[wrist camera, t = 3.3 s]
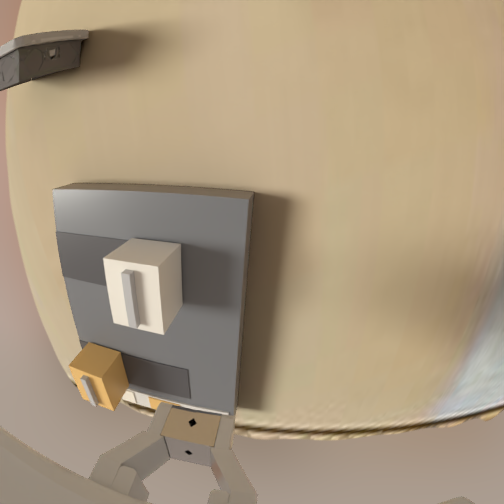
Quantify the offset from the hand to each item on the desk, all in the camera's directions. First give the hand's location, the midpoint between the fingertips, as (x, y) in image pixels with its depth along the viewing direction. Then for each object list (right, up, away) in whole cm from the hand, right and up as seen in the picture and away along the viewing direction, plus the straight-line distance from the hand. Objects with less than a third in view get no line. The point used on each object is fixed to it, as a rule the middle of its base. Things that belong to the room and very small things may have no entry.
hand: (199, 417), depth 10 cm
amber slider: (-13, -5, +16) cm, 21 cm away
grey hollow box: (-17, +25, +9) cm, 32 cm away
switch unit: (-7, +1, +16) cm, 18 cm away
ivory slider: (-5, +5, +11) cm, 13 cm away
